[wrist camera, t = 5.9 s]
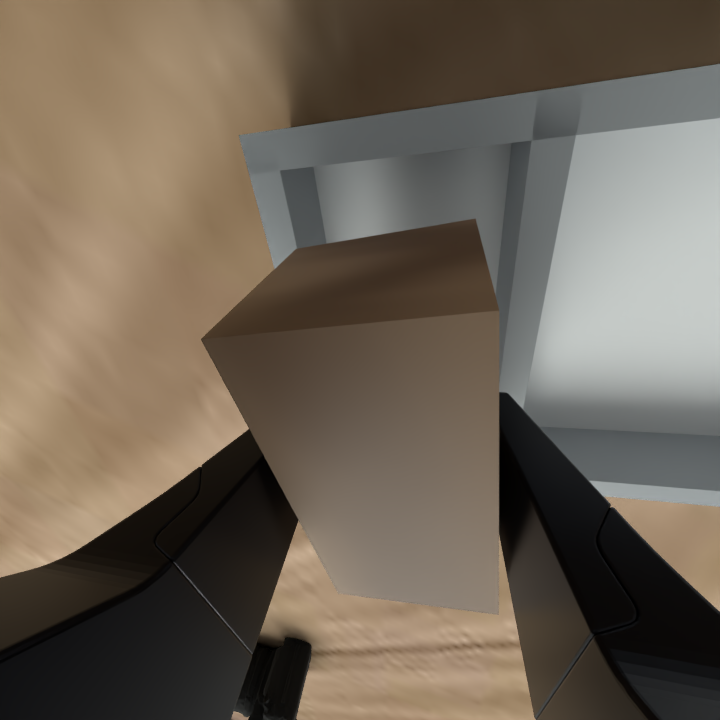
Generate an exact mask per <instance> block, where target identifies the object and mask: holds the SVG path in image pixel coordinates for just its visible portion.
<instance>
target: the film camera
mask: <svg viewBox="0 0 720 720" xmlns="http://www.w3.org/2000/svg"><path fill="white" fill-rule="evenodd" d="M251 655H252V658H251V661H250V664H249V667H248V670H247V673H246V676H245V679H244V682H243V685H242V688H241V691H240V694H239V697H238V700H237V702H236V705H235V708H234V711H236V712H239V713H241V714H243V715H244V716H245V717H249V716H250V717H249V719H248V720H297V719H296V716H297V712H298V708H299V704H300V699H301V695H302V691H303V687H304V683H305V679H306V675H307V672H308V668H309V663H310V660H311V645H310V644H309V643H307V642H305V641H302V640H299V639H296V638H286V639H285V641H284V645H283V646H281V647H279V648H275V649H274V650H273V651H271V650H270V649H269V648H267V647H263V648H262V647H259V646H255V649H254V652H253V654H251Z"/></svg>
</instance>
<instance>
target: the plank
mask: <svg viewBox="0 0 720 720" xmlns="http://www.w3.org/2000/svg"><path fill="white" fill-rule="evenodd" d="M201 340H202V342H203V344H204V346H205V348H206V350H207V351H208V353H209V355H210V357H211V359H212V361H213V363H214V364H215V366H216V368H217V370H218V372H219V374H220V376H221V377H222V379H223V381H224V383H225V385H226V387H227V388H228V390H229V392H230V394H231V396H232V398H233V400H234V401H235V403H236V405H237V407H238V409H239V411H240V413H241V414H242V416H243V418H244V420H245V422H246V424H247V425H248V427H249V429H250V431H251V433H252V435H253V437H254V438H255V440H256V442H257V444H258V446H259V448H260V450H261V451H262V453H263V455H264V457H265V459H266V461H267V463H268V464H269V466H270V468H271V470H272V472H273V474H274V475H275V477H276V479H277V481H278V483H279V485H280V487H281V488H282V490H283V492H284V494H285V496H286V498H287V500H288V501H289V503H290V505H291V507H292V509H293V511H294V513H295V514H296V516H297V518H298V520H299V522H300V524H301V525H302V527H303V529H304V531H305V533H306V535H307V537H308V538H309V540H310V542H311V544H312V546H313V548H314V550H315V551H316V553H317V555H318V557H319V559H320V561H321V562H322V564H323V566H324V568H325V570H326V572H327V574H328V575H329V577H330V579H331V581H332V583H333V585H334V587H335V588H336V590H337V592H338V593H339V594H346V595H354V596H361V597H369V598H376V599H384V600H391V601H399V602H406V603H414V604H421V605H429V606H436V607H444V608H451V609H459V610H466V611H474V612H481V613H489V614H496V615H499V307H498V303H497V299H496V295H495V292H494V288H493V284H492V280H491V276H490V272H489V268H488V264H487V261H486V257H485V253H484V249H483V245H482V241H481V237H480V234H479V230H478V226H477V222H476V219H470V220H464V221H458V222H452V223H446V224H440V225H434V226H428V227H422V228H416V229H410V230H405V231H399V232H393V233H387V234H381V235H375V236H369V237H363V238H357V239H351V240H345V241H339V242H333V243H327V244H321V245H316V246H310V247H304V248H298V249H295V250H294V251H293V252H292V253H291V254H290V255H289V256H288V257H287V258H286V259H285V260H284V261H283V262H282V263H281V264H279V265H278V266H277V267H276V268H275V269H274V270H273V271H272V272H271V273H270V274H269V275H268V276H267V277H266V278H265V279H264V280H263V281H262V282H261V283H260V284H258V285H257V286H256V287H255V288H254V289H253V290H252V291H251V292H250V293H249V294H248V295H247V296H246V297H245V298H244V299H243V300H242V301H241V302H240V303H238V304H237V305H236V306H235V307H234V308H233V309H232V310H231V311H230V312H229V313H228V314H227V315H226V316H225V317H224V318H223V319H222V320H221V321H220V322H218V323H217V324H216V325H215V326H214V327H213V328H212V329H211V330H210V331H209V332H208V333H207V334H206V335H205V336H204V337H203V338H202V339H201Z"/></svg>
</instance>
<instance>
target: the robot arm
mask: <svg viewBox="0 0 720 720" xmlns="http://www.w3.org/2000/svg"><path fill="white" fill-rule="evenodd" d="M610 506H611V505H610V503H609V502H608V501H607V500H606V499H605V498H604V497H603V495H602V494H601V493H600V492H599V491H598V490H597V489H596V488H595V487H594V486H593V485H592V483H591V482H590V481H589V480H588V479H587V478H586V477H585V476H584V475H583V474H582V473H581V472H580V470H579V469H578V468H577V467H576V466H575V465H574V464H573V463H572V462H571V461H570V460H569V459H568V457H567V456H566V455H565V454H564V453H563V452H562V451H561V450H560V449H559V448H558V447H557V445H556V444H555V443H554V442H553V441H552V440H551V439H550V438H549V437H548V436H547V435H546V434H545V432H544V431H543V430H542V429H541V428H540V427H539V426H538V425H537V424H536V423H535V422H534V421H533V419H532V418H531V417H530V416H529V415H528V414H527V413H526V412H525V411H524V410H523V409H522V407H521V406H520V405H519V404H518V403H517V402H516V401H515V400H514V399H513V398H512V397H511V396H510V394H508V393H506V392H499V535H500V541H501V546H502V551H503V556H504V561H505V567H506V572H507V577H508V582H509V587H510V593H511V598H512V603H513V608H514V613H515V619H516V624H517V629H518V634H519V640H520V645H521V650H522V655H523V660H524V666H525V671H526V676H527V681H528V686H529V692H530V697H531V702H532V707H533V712H534V717H535V719H536V720H720V612H719V611H718V610H717V609H716V608H715V607H714V606H713V605H712V604H711V603H710V602H708V601H707V600H706V599H705V598H704V597H703V596H702V595H701V594H700V593H699V592H698V591H697V590H695V589H694V588H693V587H692V586H691V585H690V584H689V583H688V582H687V581H686V580H685V579H684V578H683V577H682V576H681V575H680V574H679V573H677V572H676V571H675V570H674V569H673V568H672V567H671V566H670V565H669V564H668V563H667V562H666V561H665V560H664V559H663V558H662V557H661V556H660V555H659V554H658V553H657V552H656V551H655V550H654V549H653V548H652V547H651V546H650V545H649V544H648V543H647V542H646V541H645V540H644V539H643V538H642V537H641V536H640V535H639V534H638V533H637V532H636V531H635V530H634V529H633V528H632V527H631V526H630V524H629V523H628V522H627V521H626V520H625V519H624V518H623V517H622V516H621V515H620V514H619V513H618V511H617V510H616V509H615V508H613V507H611V508H610ZM297 523H298V518H297V516H296V514H295V513H294V511H293V509H292V507H291V505H290V503H289V501H288V500H287V498H286V496H285V494H284V492H283V490H282V488H281V487H280V485H279V483H278V481H277V479H276V477H275V475H274V474H273V472H272V470H271V468H270V466H269V464H268V463H267V461H266V459H265V457H264V455H263V453H262V451H261V450H260V448H259V446H258V444H257V442H256V440H255V438H254V437H253V435H252V433H251V431H250V429H248V430H247V431H246V432H245V433H243V434H242V435H241V436H239V437H238V438H237V439H235V440H234V441H233V442H231V443H230V444H229V445H227V446H226V447H225V448H223V449H222V450H221V451H219V452H218V453H217V454H216V455H214V456H213V457H212V458H210V459H209V460H208V461H206V462H205V463H204V464H202V467H198V468H197V469H196V470H194V471H193V472H192V473H190V474H189V475H188V476H186V477H185V478H184V479H182V480H181V481H180V482H178V483H177V484H175V485H174V486H173V487H171V488H170V489H169V490H167V491H166V492H164V493H163V494H161V495H160V496H159V497H157V498H156V499H154V500H153V501H151V502H150V503H148V504H147V505H145V506H144V507H142V508H141V509H139V510H138V511H136V512H135V513H133V514H132V515H130V516H129V517H127V518H126V519H124V520H123V521H121V522H120V523H118V524H116V525H115V526H113V527H112V528H110V529H109V530H107V531H106V532H104V533H103V534H101V535H100V536H98V537H97V538H95V539H94V540H92V541H91V542H89V543H88V544H86V545H84V546H83V547H81V548H80V549H78V550H76V551H75V552H73V553H71V554H69V555H67V556H65V557H63V558H61V559H59V560H57V561H54V562H52V563H50V564H47V565H44V566H41V567H38V568H35V569H31V570H28V571H24V572H20V573H16V574H12V575H8V576H5V577H1V578H0V720H231V717H232V714H233V711H234V708H235V705H236V702H237V700H238V697H239V694H240V691H241V688H242V685H243V682H244V679H245V676H246V673H247V670H248V667H249V664H250V661H251V658H252V655H251V654H253V652H254V649H255V646H256V643H257V640H258V637H259V634H260V631H261V629H262V626H263V623H264V620H265V617H266V614H267V611H268V608H269V605H270V602H271V599H272V596H273V593H274V590H275V587H276V585H277V582H278V579H279V576H280V573H281V570H282V567H283V564H284V561H285V558H286V555H287V552H288V549H289V546H290V543H291V541H292V538H293V535H294V532H295V529H296V526H297Z"/></svg>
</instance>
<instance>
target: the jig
mask: <svg viewBox="0 0 720 720" xmlns="http://www.w3.org/2000/svg"><path fill="white" fill-rule="evenodd" d="M239 138H240V142H241V145H242V149H243V153H244V156H245V160H246V164H247V168H248V171H249V175H250V179H251V183H252V186H253V190H254V194H255V197H256V201H257V205H258V209H259V212H260V216H261V220H262V224H263V227H264V231H265V235H266V238H267V242H268V246H269V250H270V253H271V257H272V261H273V265H274V268H276V267H277V266H278V265H279V264H281V263H282V262H283V261H284V260H285V259H286V258H287V257H288V256H289V255H290V254H291V253H292V252H293V251H294V250H295V249H298V248H304V247H310V246H316V245H321V244H327V243H333V242H339V241H345V240H351V239H357V238H363V237H369V236H375V235H381V234H387V233H393V232H399V231H405V230H410V229H416V228H422V227H428V226H434V225H440V224H446V223H452V222H458V221H464V220H470V219H476V222H477V226H478V230H479V234H480V237H481V241H482V245H483V249H484V253H485V257H486V261H487V264H488V268H489V272H490V276H491V280H492V284H493V288H494V292H495V295H496V299H497V303H498V307H499V392H506V393H508V394H510V396H511V397H512V398H513V399H514V400H515V401H516V402H517V403H518V404H519V405H520V406H521V407H522V409H523V410H524V411H525V412H526V413H527V414H528V415H529V416H530V417H531V418H532V419H533V421H534V422H535V423H536V424H537V425H538V426H539V427H540V428H541V429H542V430H543V431H544V432H545V434H546V435H547V436H548V437H549V438H550V439H551V440H552V441H553V442H554V443H555V444H556V445H557V447H558V448H559V449H560V450H561V451H562V452H563V453H564V454H565V455H566V456H567V457H568V459H569V460H570V461H571V462H572V463H573V464H574V465H575V466H576V467H577V468H578V469H579V470H580V472H581V473H582V474H583V475H584V476H585V477H586V478H587V479H588V480H589V481H590V482H591V483H592V485H593V486H594V487H595V488H596V489H597V490H598V491H599V492H600V493H601V494H602V495H603V496H607V497H618V498H629V499H640V500H651V501H662V502H673V503H685V504H696V505H707V506H718V507H720V64H716V65H709V66H702V67H695V68H689V69H682V70H675V71H669V72H662V73H655V74H648V75H642V76H635V77H628V78H621V79H615V80H608V81H601V82H594V83H588V84H581V85H574V86H568V87H561V88H554V89H547V90H541V91H534V92H527V93H520V94H514V95H507V96H500V97H493V98H487V99H480V100H473V101H467V102H460V103H453V104H446V105H440V106H433V107H426V108H419V109H413V110H406V111H399V112H392V113H386V114H379V115H372V116H366V117H359V118H352V119H345V120H339V121H332V122H325V123H318V124H312V125H305V126H298V127H291V128H285V129H278V130H271V131H265V132H258V133H251V134H244V135H239Z"/></svg>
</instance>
